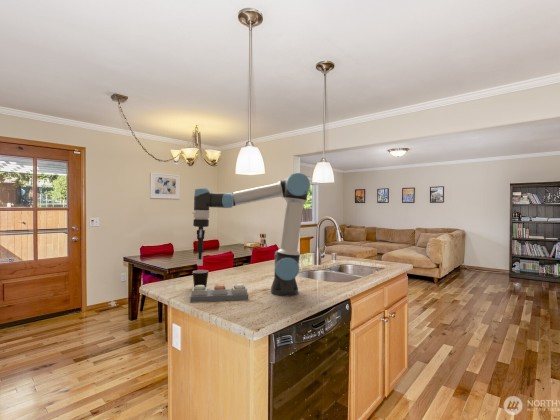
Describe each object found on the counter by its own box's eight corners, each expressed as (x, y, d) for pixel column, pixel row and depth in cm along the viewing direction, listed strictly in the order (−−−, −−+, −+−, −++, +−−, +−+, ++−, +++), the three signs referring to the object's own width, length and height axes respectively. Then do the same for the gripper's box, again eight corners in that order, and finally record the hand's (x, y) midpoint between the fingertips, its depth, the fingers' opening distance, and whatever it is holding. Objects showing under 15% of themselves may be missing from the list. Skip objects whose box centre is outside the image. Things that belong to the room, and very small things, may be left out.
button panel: (245, 293, 168) (245, 284, 168) (248, 299, 156) (248, 290, 156) (191, 295, 162) (192, 286, 162) (190, 302, 150) (190, 292, 150)
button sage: (204, 288, 160) (204, 284, 160) (204, 291, 155) (204, 287, 155) (195, 289, 159) (195, 285, 159) (194, 291, 154) (194, 287, 154)
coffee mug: (203, 291, 169) (204, 273, 169) (189, 290, 171) (189, 272, 171) (212, 286, 180) (213, 269, 180) (199, 285, 182) (199, 268, 182)
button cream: (243, 287, 164) (243, 283, 164) (244, 289, 160) (244, 285, 160) (234, 287, 163) (234, 283, 163) (235, 290, 158) (235, 286, 158)
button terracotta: (224, 288, 162) (224, 284, 162) (224, 290, 157) (224, 286, 157) (214, 288, 161) (215, 284, 161) (215, 291, 156) (215, 286, 156)
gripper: (194, 218, 162) (192, 263, 162) (192, 219, 149) (191, 267, 150) (208, 218, 164) (207, 263, 164) (208, 219, 151) (207, 267, 151)
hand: (199, 265), depth 157 cm, fingers closed
